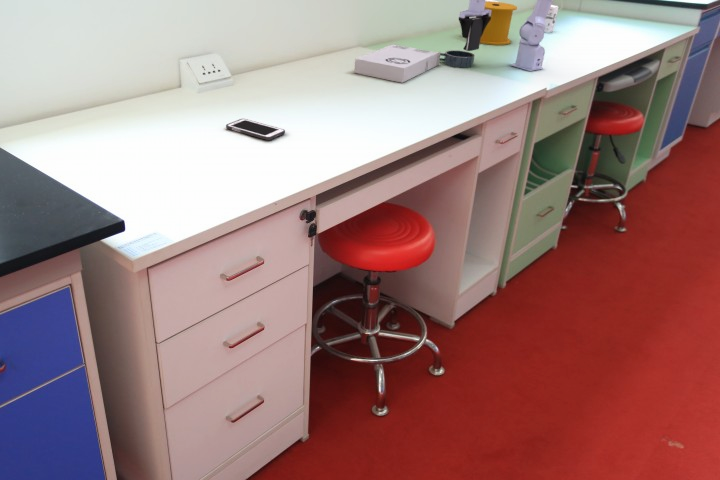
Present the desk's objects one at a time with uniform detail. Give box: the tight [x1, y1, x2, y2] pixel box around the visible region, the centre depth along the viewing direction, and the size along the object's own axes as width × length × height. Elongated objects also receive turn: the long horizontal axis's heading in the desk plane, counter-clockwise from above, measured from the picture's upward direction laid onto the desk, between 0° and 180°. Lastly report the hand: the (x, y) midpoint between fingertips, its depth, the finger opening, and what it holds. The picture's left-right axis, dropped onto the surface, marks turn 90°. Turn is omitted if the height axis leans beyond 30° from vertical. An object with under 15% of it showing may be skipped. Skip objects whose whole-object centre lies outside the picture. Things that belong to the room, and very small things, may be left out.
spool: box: [476, 1, 518, 46], centre depth 294 cm, size 18×18×15 cm
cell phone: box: [225, 118, 286, 141], centre depth 180 cm, size 8×15×1 cm, turn 57°
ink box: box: [544, 4, 560, 34], centre depth 321 cm, size 9×5×12 cm, turn 48°
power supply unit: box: [353, 43, 442, 84], centre depth 244 cm, size 19×33×5 cm, turn 149°
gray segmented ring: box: [439, 49, 476, 69], centre depth 256 cm, size 14×11×4 cm
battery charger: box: [463, 17, 483, 52], centre depth 251 cm, size 7×4×11 cm, turn 133°
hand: (471, 37), depth 251 cm, fingers closed on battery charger, 7 cm apart
